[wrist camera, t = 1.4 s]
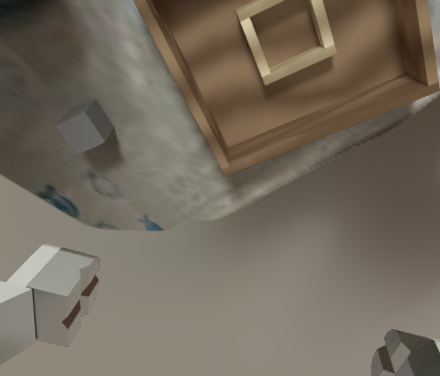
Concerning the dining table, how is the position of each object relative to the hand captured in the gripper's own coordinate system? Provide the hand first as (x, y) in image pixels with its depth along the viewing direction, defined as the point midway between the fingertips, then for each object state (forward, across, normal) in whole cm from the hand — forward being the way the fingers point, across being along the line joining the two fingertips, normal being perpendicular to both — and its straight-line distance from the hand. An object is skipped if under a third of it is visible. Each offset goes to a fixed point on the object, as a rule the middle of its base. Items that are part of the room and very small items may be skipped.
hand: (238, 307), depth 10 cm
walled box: (+36, -1, -5) cm, 36 cm away
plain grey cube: (+34, +20, +10) cm, 40 cm away
